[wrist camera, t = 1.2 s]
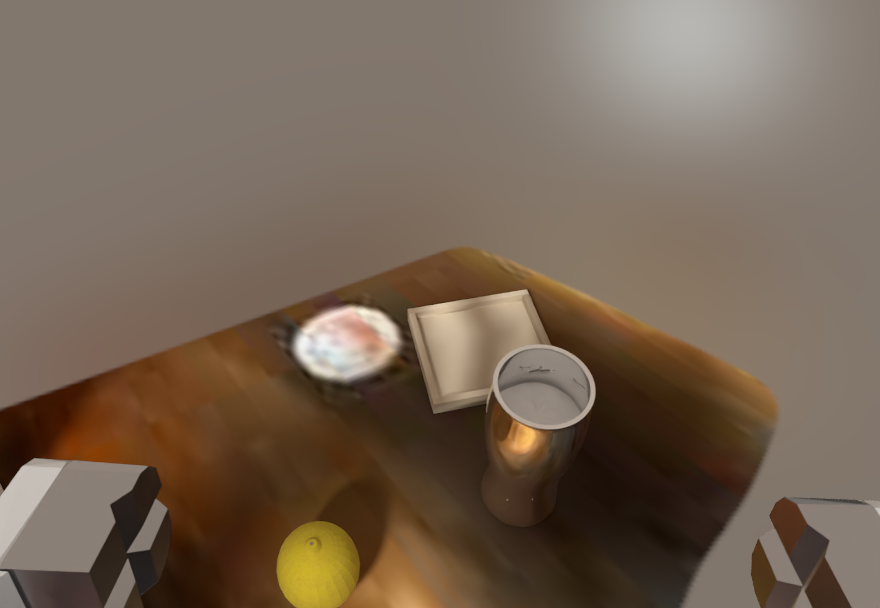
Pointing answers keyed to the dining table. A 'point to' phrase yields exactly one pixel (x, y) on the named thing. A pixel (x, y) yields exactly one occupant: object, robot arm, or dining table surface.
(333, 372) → the dining table surface
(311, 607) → the lemon
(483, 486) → the beer glass
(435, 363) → the tray
